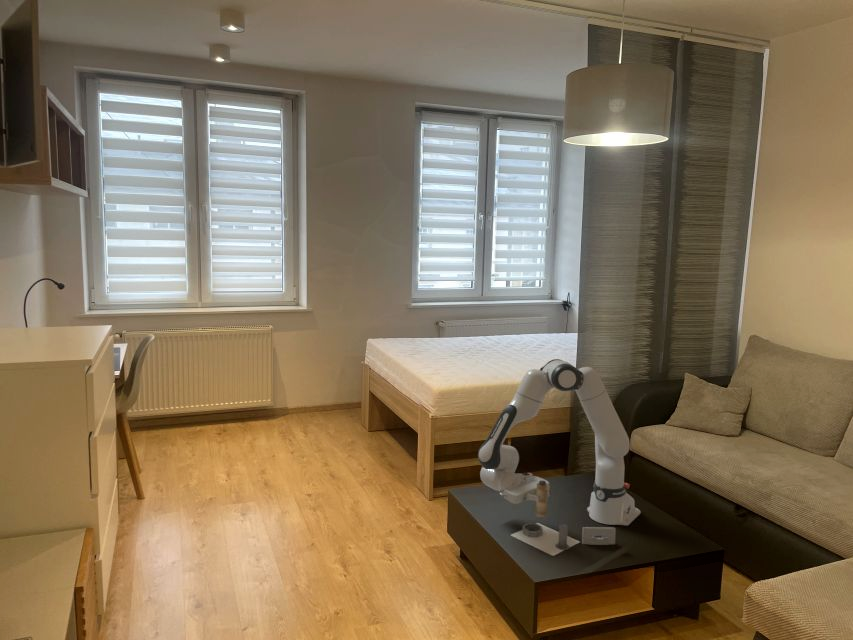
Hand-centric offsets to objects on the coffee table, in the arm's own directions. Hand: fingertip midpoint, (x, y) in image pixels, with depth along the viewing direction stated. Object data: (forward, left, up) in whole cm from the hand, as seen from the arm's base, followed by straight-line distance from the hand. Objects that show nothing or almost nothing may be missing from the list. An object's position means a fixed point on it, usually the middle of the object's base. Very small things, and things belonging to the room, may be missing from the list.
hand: (543, 497), depth 238 cm
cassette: (-12, +16, -17) cm, 27 cm away
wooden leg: (0, -1, -7) cm, 7 cm away
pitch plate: (0, +1, -17) cm, 17 cm away
